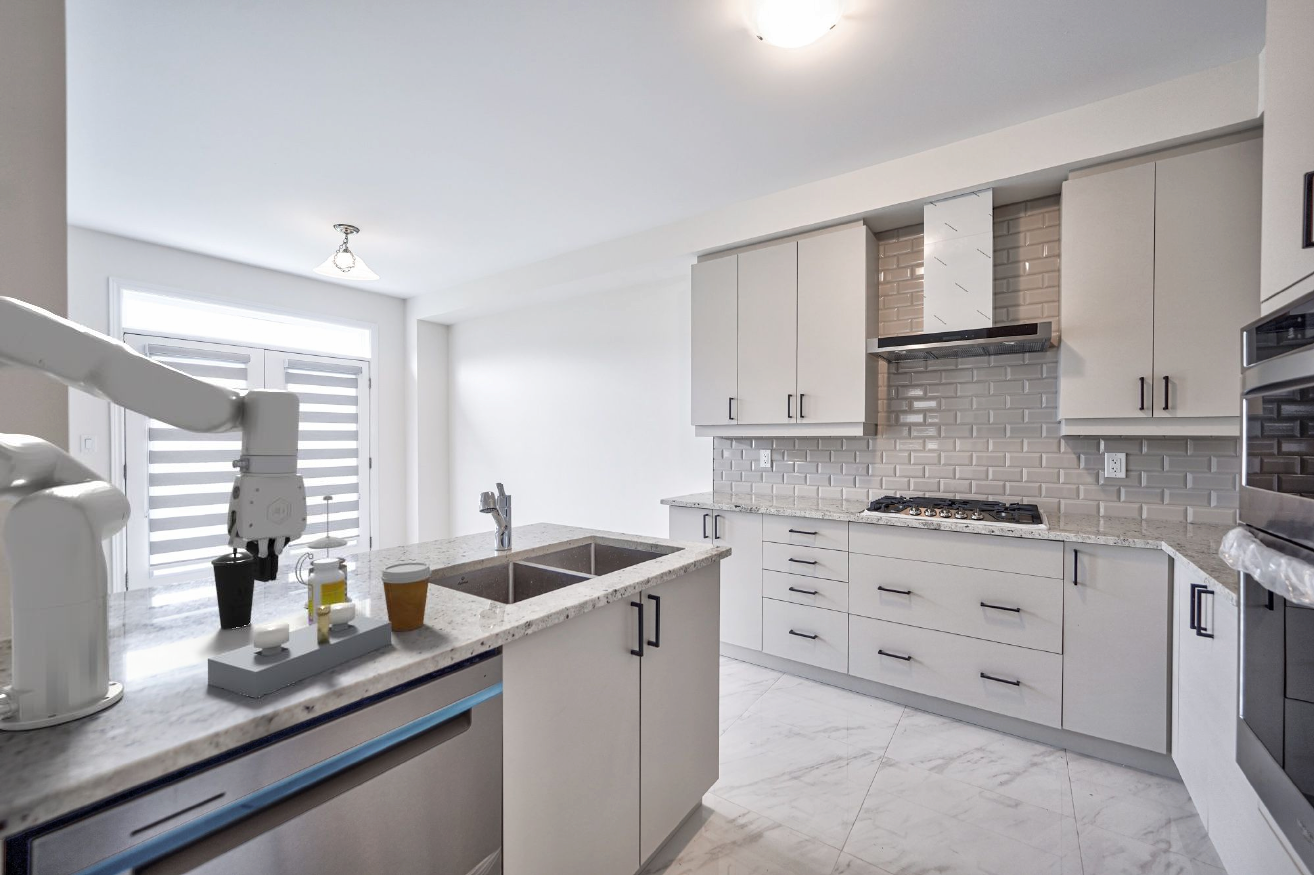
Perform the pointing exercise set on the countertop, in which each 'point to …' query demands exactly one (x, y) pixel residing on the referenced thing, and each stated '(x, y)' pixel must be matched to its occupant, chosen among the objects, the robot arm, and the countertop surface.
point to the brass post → (323, 624)
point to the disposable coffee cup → (406, 594)
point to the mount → (295, 657)
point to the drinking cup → (234, 588)
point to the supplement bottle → (325, 586)
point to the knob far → (341, 615)
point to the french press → (325, 544)
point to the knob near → (271, 637)
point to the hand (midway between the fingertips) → (265, 579)
